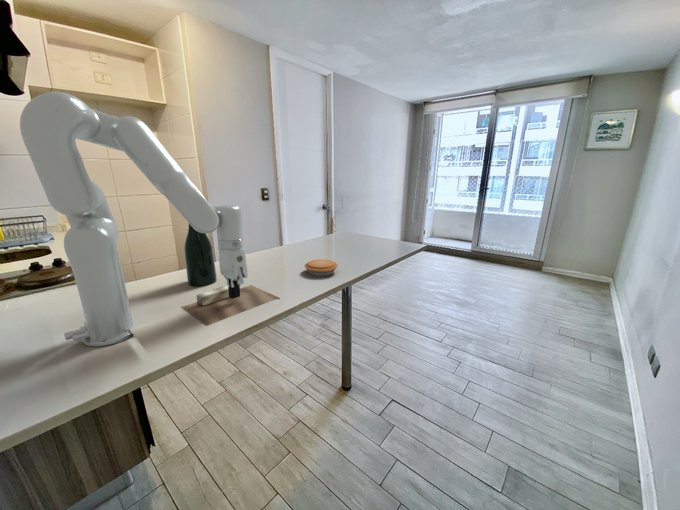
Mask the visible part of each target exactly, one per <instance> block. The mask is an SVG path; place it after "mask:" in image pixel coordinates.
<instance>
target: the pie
mask: <svg viewBox="0 0 680 510" xmlns="http://www.w3.org/2000/svg"><path fill="white" fill-rule="evenodd" d="M338 266H339V264H338V263H336V262H335V261H333V260H329V259H314V260H313V259H312V260H311V261H308V262H306V263H304V268H305V269H306V270H307V272H308V274H309V275H312V276H315V277H326V276H327V275H328V276H331V275H332V274H333V273H334V272H335V270H336V269H337V268H338ZM330 274H331V275H330Z"/></svg>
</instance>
